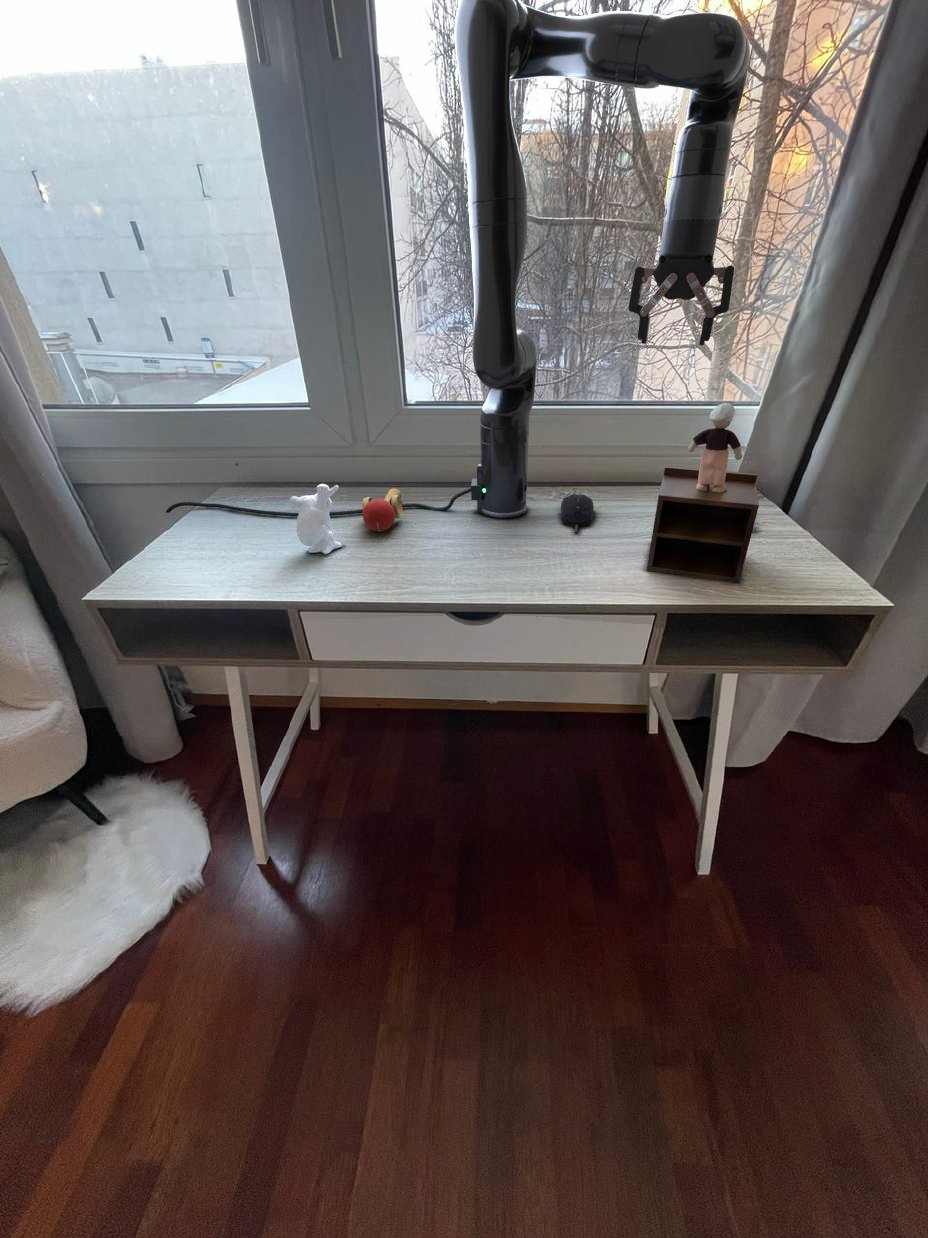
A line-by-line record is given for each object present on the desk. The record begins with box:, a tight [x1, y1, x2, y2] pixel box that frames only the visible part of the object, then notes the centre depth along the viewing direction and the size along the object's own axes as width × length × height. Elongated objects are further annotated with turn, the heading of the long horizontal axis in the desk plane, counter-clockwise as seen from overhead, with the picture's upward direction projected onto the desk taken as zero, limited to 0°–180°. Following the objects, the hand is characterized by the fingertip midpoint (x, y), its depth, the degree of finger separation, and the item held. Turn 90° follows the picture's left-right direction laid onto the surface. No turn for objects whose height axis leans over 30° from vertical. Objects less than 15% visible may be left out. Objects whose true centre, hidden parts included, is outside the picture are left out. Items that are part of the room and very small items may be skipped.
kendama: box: [362, 487, 404, 533], centre depth 116 cm, size 8×6×18 cm
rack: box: [646, 465, 760, 584], centre depth 95 cm, size 14×11×14 cm
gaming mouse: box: [560, 493, 594, 535], centre depth 114 cm, size 6×15×4 cm, turn 171°
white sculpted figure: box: [289, 483, 343, 555], centre depth 102 cm, size 8×7×12 cm
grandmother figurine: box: [687, 402, 743, 493], centre depth 88 cm, size 8×4×13 cm, turn 70°
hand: (672, 343), depth 91 cm, fingers open, 8 cm apart
